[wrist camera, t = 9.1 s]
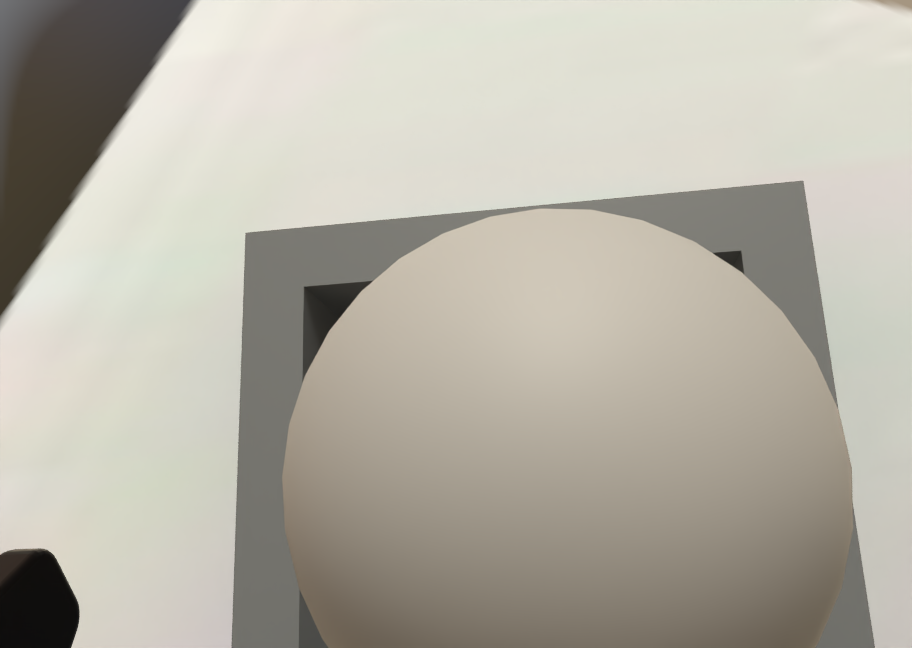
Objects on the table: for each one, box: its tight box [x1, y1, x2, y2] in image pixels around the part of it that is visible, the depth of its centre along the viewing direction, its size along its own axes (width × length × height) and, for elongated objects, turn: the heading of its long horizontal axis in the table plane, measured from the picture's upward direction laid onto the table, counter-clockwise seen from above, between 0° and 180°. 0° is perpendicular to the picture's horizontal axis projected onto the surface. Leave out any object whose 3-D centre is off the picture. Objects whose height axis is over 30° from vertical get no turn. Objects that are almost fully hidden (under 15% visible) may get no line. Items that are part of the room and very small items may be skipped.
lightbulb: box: [282, 209, 853, 648], centre depth 12 cm, size 6×6×11 cm
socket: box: [232, 181, 875, 648], centre depth 16 cm, size 10×10×4 cm
